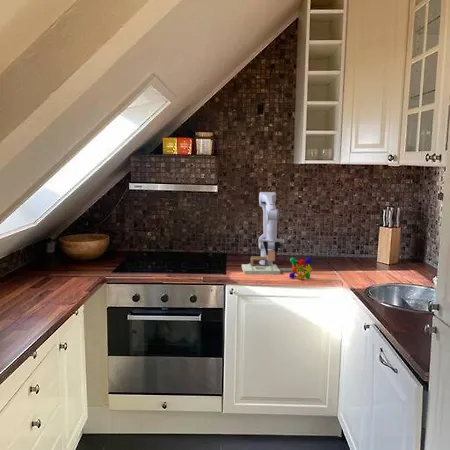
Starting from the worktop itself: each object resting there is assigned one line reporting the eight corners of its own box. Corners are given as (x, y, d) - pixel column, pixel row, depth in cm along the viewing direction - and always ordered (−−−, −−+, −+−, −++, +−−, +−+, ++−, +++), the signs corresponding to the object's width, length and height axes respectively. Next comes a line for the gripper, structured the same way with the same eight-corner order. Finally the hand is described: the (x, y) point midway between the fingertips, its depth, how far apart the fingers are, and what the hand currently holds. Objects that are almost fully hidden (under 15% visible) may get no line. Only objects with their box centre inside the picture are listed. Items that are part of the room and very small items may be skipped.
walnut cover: (250, 263, 282) (250, 256, 281) (266, 263, 282) (266, 256, 282) (251, 266, 275) (252, 258, 274) (268, 266, 275) (268, 259, 275)
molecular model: (309, 277, 260) (310, 256, 258) (312, 280, 253) (313, 259, 251) (288, 277, 260) (289, 256, 258) (290, 280, 253) (291, 259, 251)
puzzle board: (241, 267, 280) (241, 263, 280) (275, 267, 281) (275, 263, 281) (244, 274, 264) (244, 269, 264) (280, 274, 266) (280, 269, 265)
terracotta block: (266, 259, 273) (267, 250, 273) (273, 259, 273) (274, 250, 273) (267, 260, 269) (268, 251, 269) (274, 260, 270) (275, 251, 269)
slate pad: (279, 269, 278) (279, 268, 278) (291, 269, 278) (291, 268, 278) (281, 272, 271) (281, 271, 271) (293, 272, 272) (293, 271, 272)
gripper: (259, 232, 265) (259, 256, 267) (285, 232, 266) (284, 256, 267) (258, 230, 272) (257, 253, 274) (283, 230, 273) (282, 254, 274)
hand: (270, 255), depth 271 cm, fingers closed on terracotta block, 4 cm apart
